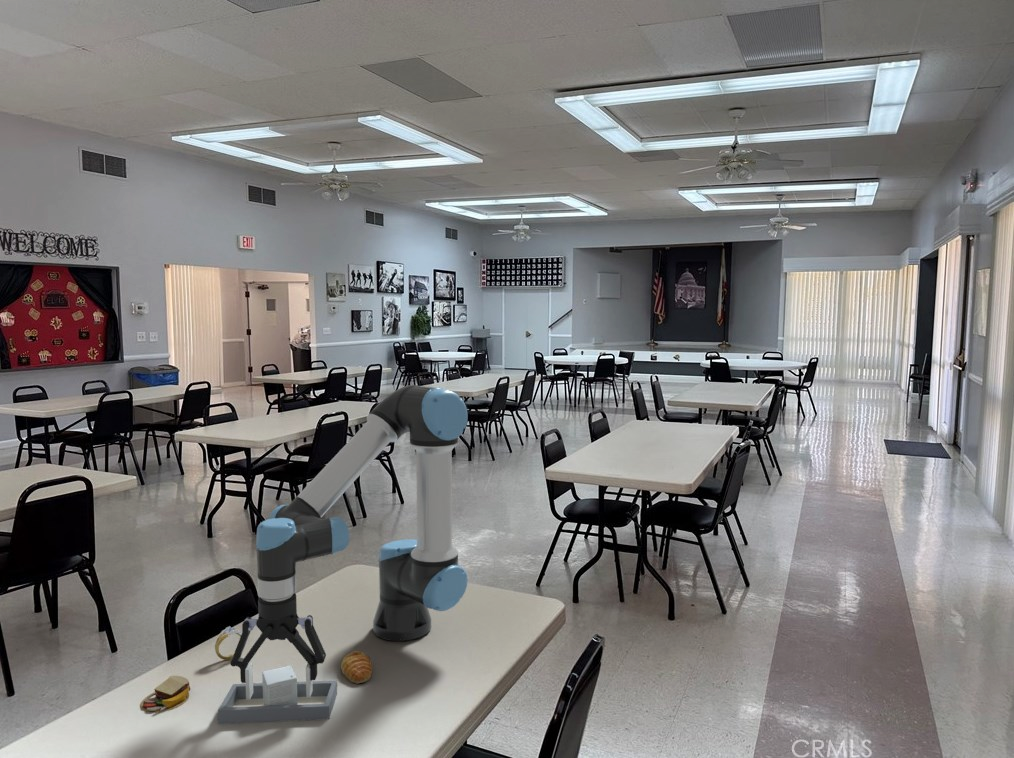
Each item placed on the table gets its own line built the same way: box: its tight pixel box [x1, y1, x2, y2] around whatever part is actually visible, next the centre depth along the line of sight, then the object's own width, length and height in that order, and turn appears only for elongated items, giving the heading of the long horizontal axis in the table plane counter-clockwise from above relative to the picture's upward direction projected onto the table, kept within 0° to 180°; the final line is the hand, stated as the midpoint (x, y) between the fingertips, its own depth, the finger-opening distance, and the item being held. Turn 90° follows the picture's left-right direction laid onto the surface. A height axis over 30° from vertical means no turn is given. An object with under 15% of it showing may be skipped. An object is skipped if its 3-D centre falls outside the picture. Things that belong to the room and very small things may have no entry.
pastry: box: [340, 650, 373, 684], centre depth 160 cm, size 9×7×4 cm
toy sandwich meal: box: [140, 675, 191, 714], centre depth 149 cm, size 9×10×4 cm
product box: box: [261, 665, 298, 706], centre depth 146 cm, size 6×6×7 cm
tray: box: [217, 680, 338, 725], centre depth 146 cm, size 22×10×4 cm, turn 95°
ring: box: [214, 625, 247, 661], centre depth 167 cm, size 7×3×8 cm, turn 122°
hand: (279, 695), depth 146 cm, fingers open, 11 cm apart
